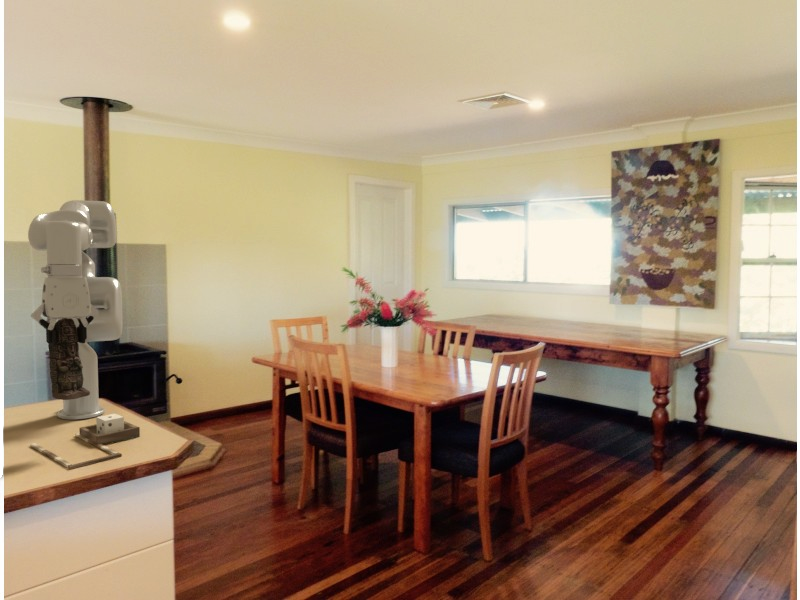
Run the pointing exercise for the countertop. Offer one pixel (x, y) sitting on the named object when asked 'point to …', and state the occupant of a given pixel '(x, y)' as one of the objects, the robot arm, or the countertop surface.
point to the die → (109, 423)
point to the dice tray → (110, 434)
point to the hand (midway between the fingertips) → (67, 343)
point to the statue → (66, 362)
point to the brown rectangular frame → (70, 466)
